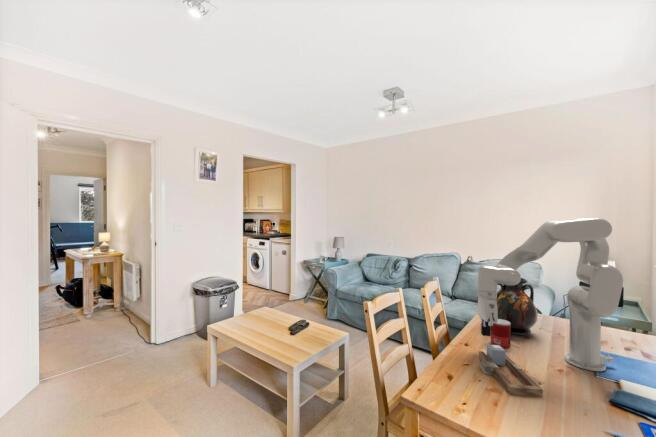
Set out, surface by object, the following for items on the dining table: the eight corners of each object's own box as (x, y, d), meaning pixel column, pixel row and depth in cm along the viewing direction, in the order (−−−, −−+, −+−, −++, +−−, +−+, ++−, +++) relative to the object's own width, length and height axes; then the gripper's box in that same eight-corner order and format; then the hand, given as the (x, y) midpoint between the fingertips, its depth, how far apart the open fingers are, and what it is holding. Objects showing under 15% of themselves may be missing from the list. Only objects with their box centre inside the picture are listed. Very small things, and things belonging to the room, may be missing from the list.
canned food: (513, 349, 128) (513, 325, 128) (494, 347, 129) (494, 323, 129) (506, 341, 135) (506, 319, 135) (488, 340, 137) (488, 317, 137)
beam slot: (504, 358, 119) (504, 351, 119) (542, 396, 93) (542, 387, 93) (471, 356, 121) (471, 349, 121) (500, 393, 95) (500, 384, 95)
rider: (499, 359, 118) (499, 344, 118) (505, 365, 113) (505, 349, 113) (486, 358, 118) (486, 343, 118) (492, 364, 113) (492, 348, 113)
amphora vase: (494, 336, 141) (495, 281, 141) (484, 321, 162) (484, 273, 162) (545, 342, 135) (545, 284, 135) (527, 326, 155) (528, 275, 155)
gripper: (504, 299, 116) (502, 343, 116) (488, 290, 131) (487, 329, 131) (485, 298, 117) (483, 341, 117) (471, 289, 131) (470, 327, 132)
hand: (485, 335), depth 124 cm, fingers closed
